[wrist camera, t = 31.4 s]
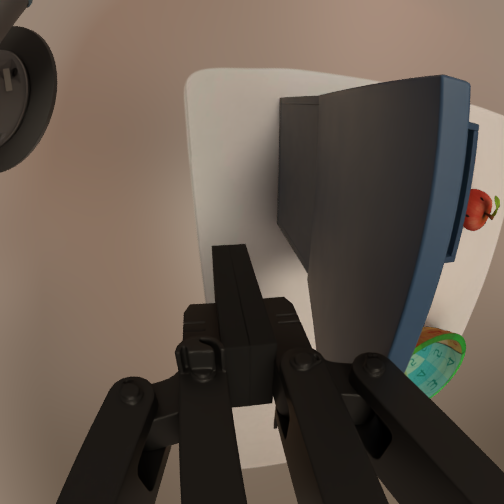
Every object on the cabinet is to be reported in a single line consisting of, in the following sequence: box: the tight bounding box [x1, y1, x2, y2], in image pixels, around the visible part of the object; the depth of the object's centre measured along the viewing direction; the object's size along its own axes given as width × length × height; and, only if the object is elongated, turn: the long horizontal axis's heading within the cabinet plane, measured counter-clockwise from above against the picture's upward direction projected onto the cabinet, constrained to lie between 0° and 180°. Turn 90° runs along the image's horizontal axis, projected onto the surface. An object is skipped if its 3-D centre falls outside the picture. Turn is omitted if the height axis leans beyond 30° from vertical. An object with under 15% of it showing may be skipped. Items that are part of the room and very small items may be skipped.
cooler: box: [277, 96, 479, 273], centre depth 34 cm, size 19×17×14 cm
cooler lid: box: [307, 75, 471, 373], centre depth 17 cm, size 20×17×1 cm
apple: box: [463, 189, 500, 231], centre depth 41 cm, size 8×7×10 cm
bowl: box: [404, 327, 466, 398], centre depth 55 cm, size 22×22×10 cm
